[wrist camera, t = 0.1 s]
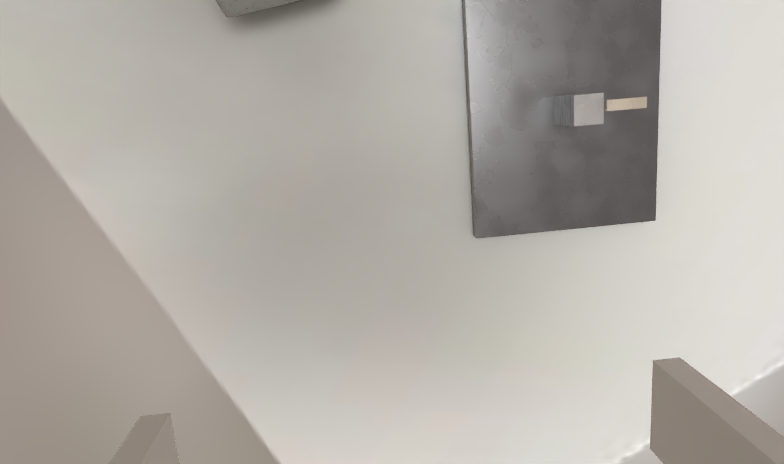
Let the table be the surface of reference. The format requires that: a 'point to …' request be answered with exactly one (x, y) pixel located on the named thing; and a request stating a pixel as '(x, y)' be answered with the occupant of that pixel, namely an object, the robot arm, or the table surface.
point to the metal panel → (561, 113)
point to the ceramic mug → (248, 6)
